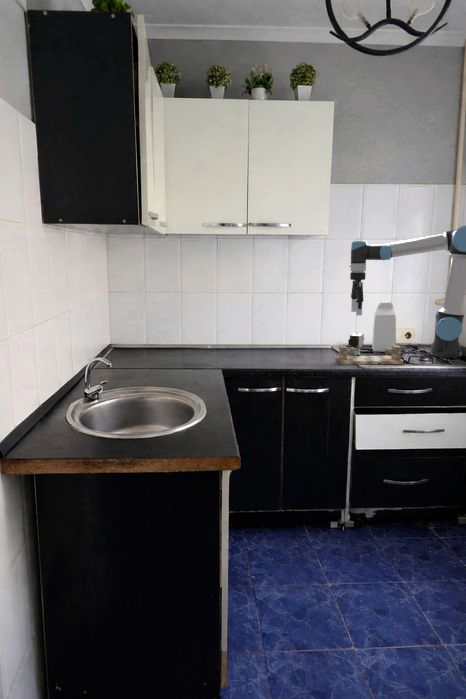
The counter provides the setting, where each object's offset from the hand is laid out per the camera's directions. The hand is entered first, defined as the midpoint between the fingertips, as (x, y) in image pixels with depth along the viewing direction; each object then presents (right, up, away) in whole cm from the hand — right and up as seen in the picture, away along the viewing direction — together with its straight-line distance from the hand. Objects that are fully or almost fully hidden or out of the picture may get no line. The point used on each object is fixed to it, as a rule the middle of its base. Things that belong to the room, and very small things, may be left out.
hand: (356, 313), depth 264 cm
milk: (+19, -19, +17) cm, 32 cm away
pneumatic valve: (0, -22, +4) cm, 22 cm away
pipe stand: (+4, -24, -10) cm, 27 cm away
